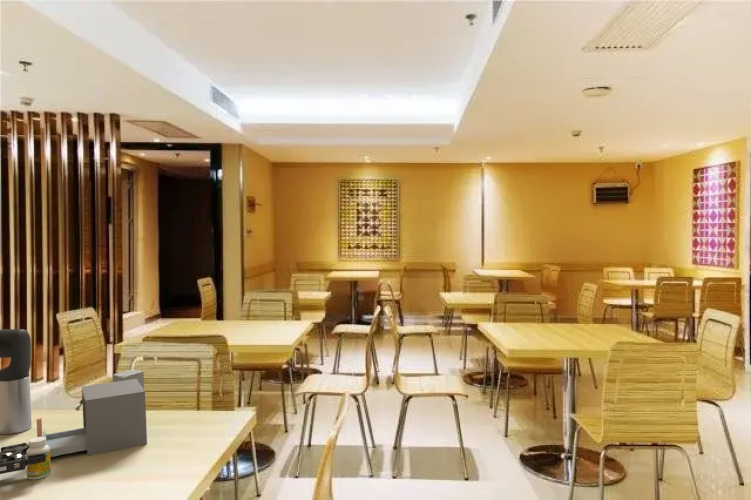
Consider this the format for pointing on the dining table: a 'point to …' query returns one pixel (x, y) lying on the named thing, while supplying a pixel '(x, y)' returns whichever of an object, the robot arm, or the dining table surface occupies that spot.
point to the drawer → (64, 440)
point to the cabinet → (114, 416)
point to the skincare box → (130, 376)
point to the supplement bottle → (38, 469)
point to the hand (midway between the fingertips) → (45, 451)
